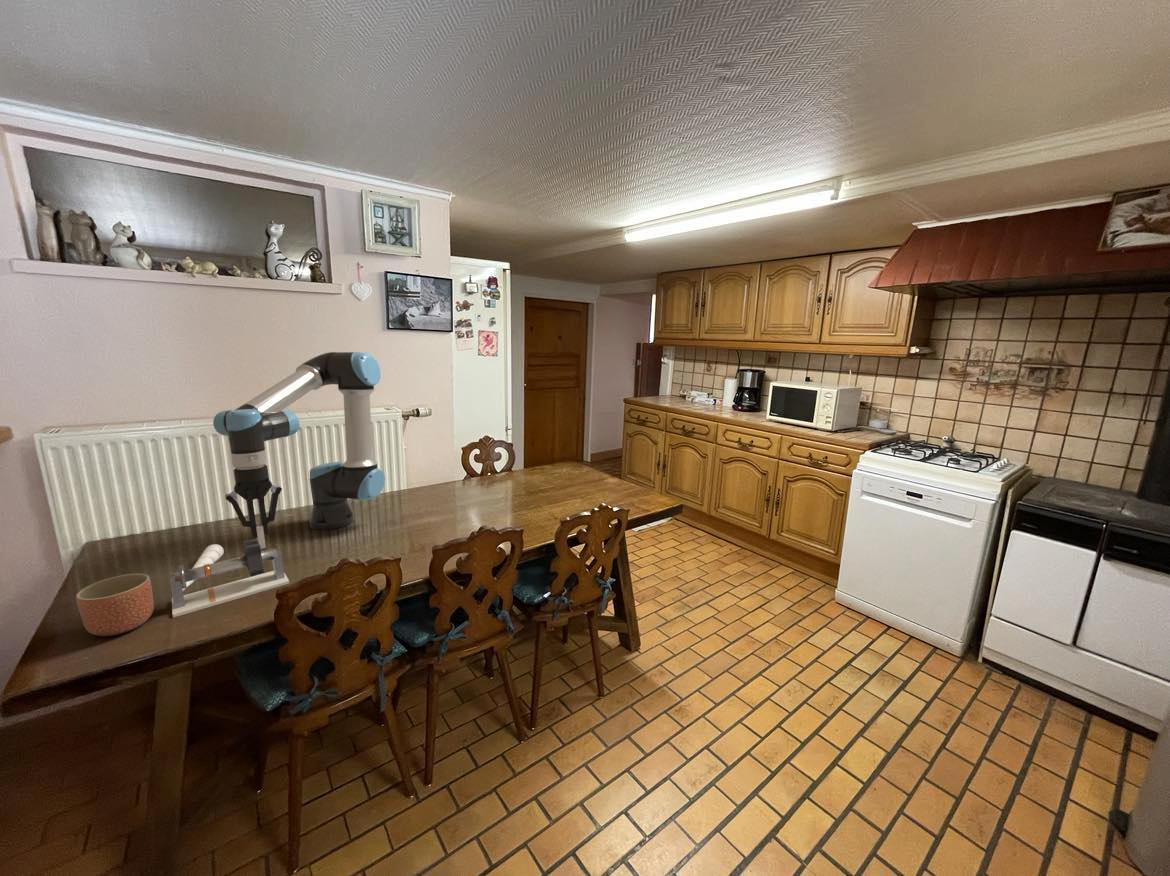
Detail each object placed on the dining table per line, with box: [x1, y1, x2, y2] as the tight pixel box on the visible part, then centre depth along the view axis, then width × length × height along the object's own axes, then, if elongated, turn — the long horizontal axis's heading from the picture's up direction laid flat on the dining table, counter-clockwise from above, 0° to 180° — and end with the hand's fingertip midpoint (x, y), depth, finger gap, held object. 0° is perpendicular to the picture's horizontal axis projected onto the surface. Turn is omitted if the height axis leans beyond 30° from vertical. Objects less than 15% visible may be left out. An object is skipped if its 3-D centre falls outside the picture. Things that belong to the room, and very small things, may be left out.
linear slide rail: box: [169, 547, 285, 609], centre depth 125 cm, size 6×24×11 cm, turn 133°
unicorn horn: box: [183, 543, 225, 591], centre depth 135 cm, size 5×24×5 cm, turn 15°
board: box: [171, 570, 290, 618], centre depth 126 cm, size 10×25×1 cm, turn 133°
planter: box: [75, 572, 155, 637], centre depth 109 cm, size 12×12×11 cm
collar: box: [242, 537, 265, 577], centre depth 128 cm, size 7×3×8 cm, turn 43°
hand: (261, 546), depth 129 cm, fingers closed
